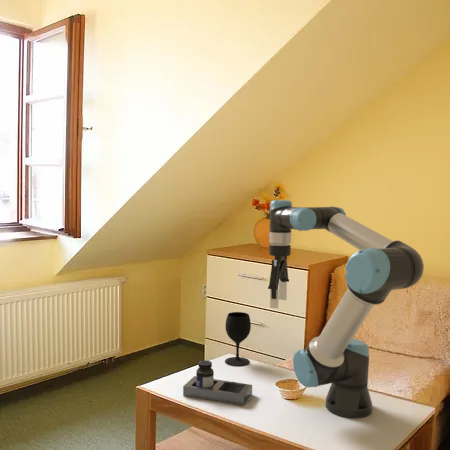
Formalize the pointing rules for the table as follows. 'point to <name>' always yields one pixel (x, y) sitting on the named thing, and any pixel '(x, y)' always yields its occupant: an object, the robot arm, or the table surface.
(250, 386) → the rectangular frame
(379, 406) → the table surface
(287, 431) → the table surface
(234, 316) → the wine glass
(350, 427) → the table surface
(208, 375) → the pill bottle
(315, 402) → the table surface
